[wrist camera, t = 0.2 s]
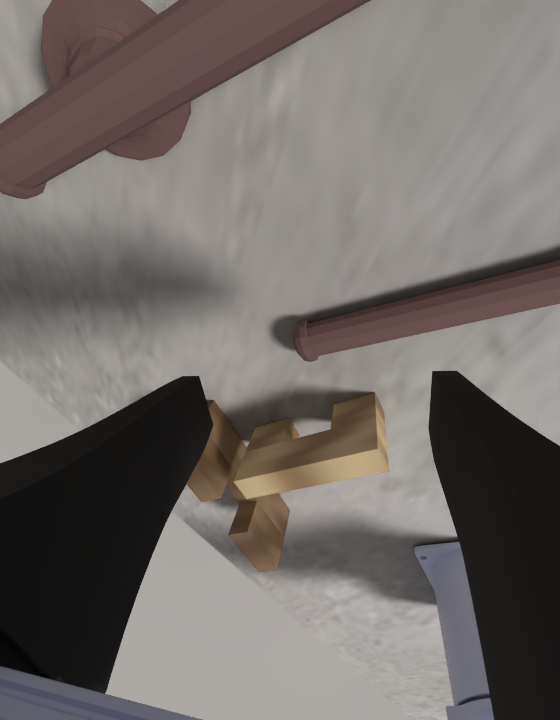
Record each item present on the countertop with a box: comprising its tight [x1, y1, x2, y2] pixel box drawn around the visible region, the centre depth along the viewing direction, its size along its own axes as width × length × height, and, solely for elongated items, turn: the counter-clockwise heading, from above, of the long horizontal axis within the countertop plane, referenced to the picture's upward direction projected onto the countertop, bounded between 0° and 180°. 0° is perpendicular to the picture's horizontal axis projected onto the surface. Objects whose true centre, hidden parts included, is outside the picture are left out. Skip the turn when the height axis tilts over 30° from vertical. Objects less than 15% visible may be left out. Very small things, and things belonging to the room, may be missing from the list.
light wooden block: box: [233, 393, 389, 499], centre depth 21 cm, size 9×2×5 cm, turn 119°
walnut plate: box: [187, 401, 290, 572], centre depth 25 cm, size 12×2×5 cm, turn 29°
